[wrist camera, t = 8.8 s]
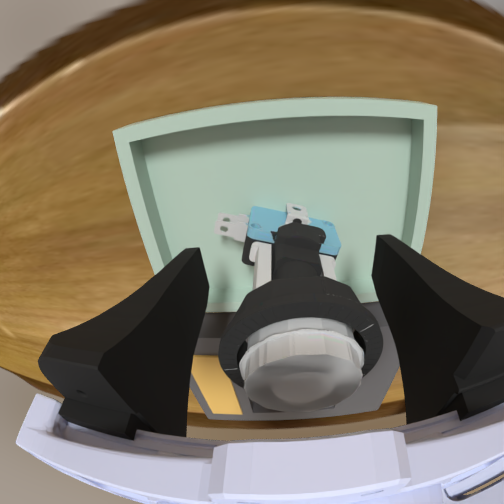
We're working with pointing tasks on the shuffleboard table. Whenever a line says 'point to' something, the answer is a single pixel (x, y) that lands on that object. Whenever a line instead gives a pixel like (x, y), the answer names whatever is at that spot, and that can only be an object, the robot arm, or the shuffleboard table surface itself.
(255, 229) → the push button
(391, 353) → the panel
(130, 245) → the shuffleboard table surface
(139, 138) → the parts tray
